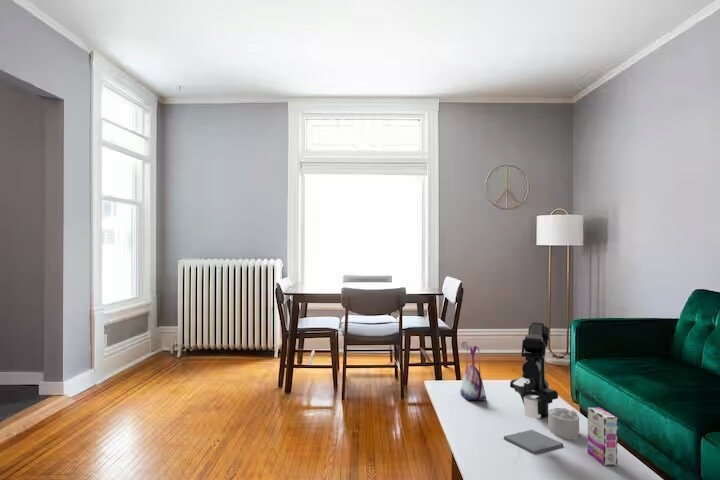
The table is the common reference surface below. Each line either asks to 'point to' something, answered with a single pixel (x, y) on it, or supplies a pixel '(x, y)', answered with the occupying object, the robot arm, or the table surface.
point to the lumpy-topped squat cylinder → (563, 423)
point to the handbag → (472, 380)
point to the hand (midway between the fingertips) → (533, 411)
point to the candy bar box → (602, 436)
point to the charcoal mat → (533, 441)
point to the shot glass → (531, 406)
